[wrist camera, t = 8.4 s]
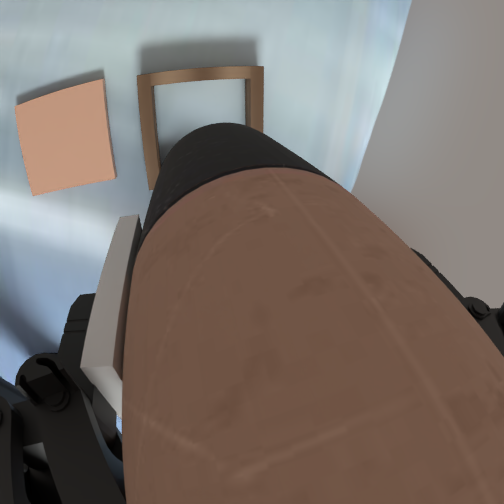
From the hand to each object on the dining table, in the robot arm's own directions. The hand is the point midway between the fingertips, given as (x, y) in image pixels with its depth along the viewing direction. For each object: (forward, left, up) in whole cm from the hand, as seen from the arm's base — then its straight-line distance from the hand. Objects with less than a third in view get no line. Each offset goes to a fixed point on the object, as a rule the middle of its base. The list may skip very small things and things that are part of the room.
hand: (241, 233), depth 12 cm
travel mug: (0, 0, -5) cm, 5 cm away
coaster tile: (-18, +1, -27) cm, 32 cm away
